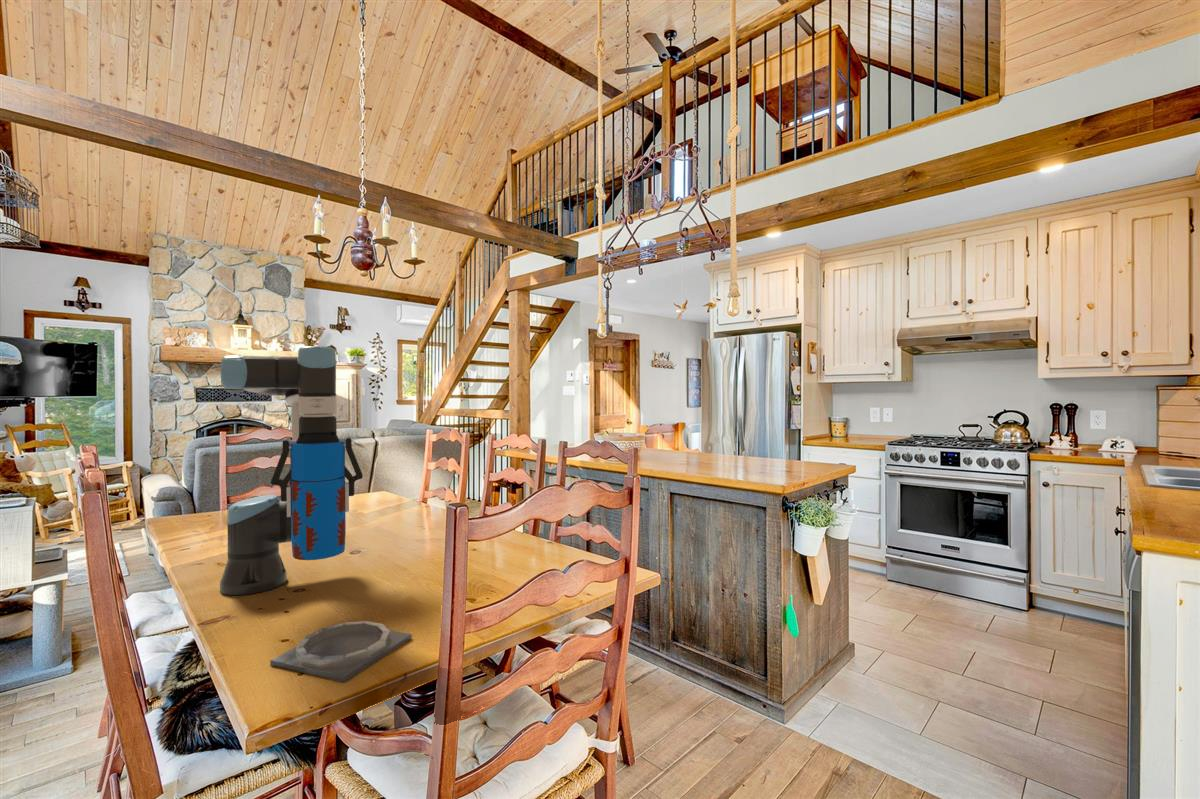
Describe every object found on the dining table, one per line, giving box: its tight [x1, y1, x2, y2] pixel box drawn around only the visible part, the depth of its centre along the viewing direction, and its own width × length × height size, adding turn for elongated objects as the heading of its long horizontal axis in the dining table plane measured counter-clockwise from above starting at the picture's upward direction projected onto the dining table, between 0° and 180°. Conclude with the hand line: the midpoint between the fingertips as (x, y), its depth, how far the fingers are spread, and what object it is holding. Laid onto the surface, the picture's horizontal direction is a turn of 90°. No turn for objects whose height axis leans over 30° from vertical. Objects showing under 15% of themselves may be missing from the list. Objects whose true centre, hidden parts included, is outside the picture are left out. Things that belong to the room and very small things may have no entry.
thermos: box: [289, 442, 347, 561], centre depth 122 cm, size 11×11×25 cm
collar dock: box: [269, 620, 413, 683], centre depth 108 cm, size 18×18×2 cm
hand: (318, 513), depth 122 cm, fingers closed on thermos, 11 cm apart
